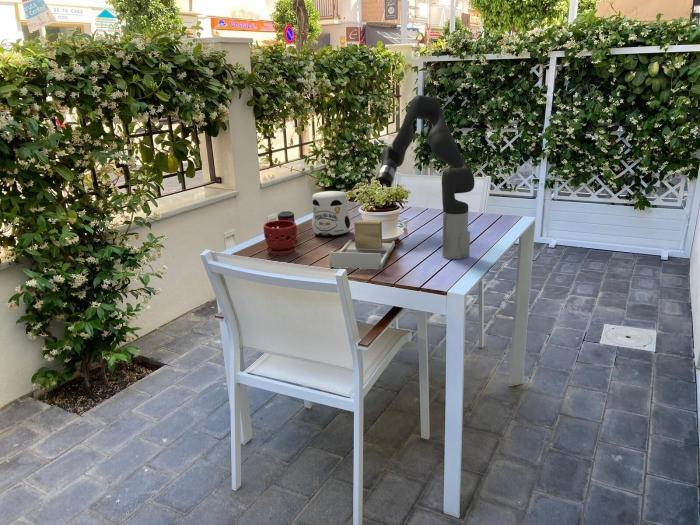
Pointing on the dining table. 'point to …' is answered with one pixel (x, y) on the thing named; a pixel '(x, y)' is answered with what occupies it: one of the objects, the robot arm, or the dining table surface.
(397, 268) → the dining table surface
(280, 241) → the plant pot
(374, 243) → the oak block
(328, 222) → the milk container
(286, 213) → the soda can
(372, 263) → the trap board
